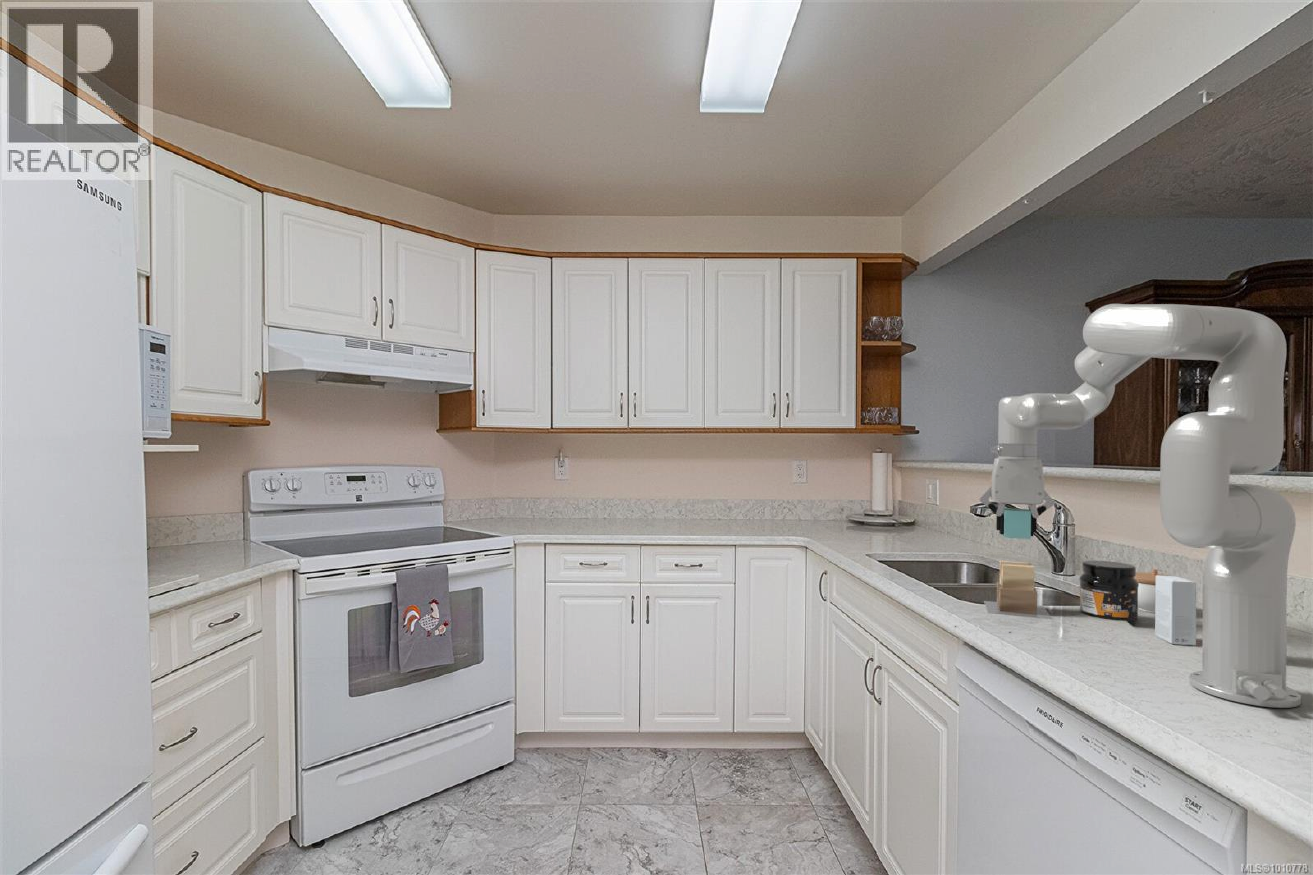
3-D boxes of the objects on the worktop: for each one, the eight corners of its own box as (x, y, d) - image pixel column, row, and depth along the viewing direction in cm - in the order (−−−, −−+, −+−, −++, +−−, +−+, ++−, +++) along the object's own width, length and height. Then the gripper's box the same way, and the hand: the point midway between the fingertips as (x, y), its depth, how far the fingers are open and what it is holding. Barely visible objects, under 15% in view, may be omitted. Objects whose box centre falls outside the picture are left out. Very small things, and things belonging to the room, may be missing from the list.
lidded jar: (1128, 602, 158) (1128, 563, 158) (1185, 610, 151) (1185, 569, 151) (1123, 610, 149) (1123, 569, 150) (1183, 619, 142) (1183, 576, 143)
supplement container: (1077, 620, 140) (1077, 564, 141) (1081, 611, 149) (1081, 558, 149) (1138, 629, 134) (1138, 570, 134) (1138, 618, 143) (1138, 563, 143)
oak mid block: (1034, 590, 141) (1034, 567, 141) (1002, 588, 143) (1002, 565, 143) (1029, 585, 146) (1029, 562, 146) (999, 582, 149) (999, 560, 149)
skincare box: (1197, 646, 123) (1197, 582, 123) (1171, 644, 124) (1171, 581, 124) (1178, 637, 129) (1178, 576, 129) (1153, 635, 130) (1154, 574, 130)
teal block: (1030, 539, 142) (1031, 511, 142) (1004, 537, 144) (1004, 510, 144) (1027, 536, 146) (1027, 509, 146) (1002, 534, 148) (1002, 508, 148)
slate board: (1052, 624, 137) (1052, 619, 137) (988, 618, 141) (988, 612, 141) (1042, 611, 148) (1042, 606, 148) (983, 605, 152) (983, 600, 152)
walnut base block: (1036, 614, 140) (1037, 591, 140) (1000, 611, 143) (1000, 588, 143) (1031, 607, 147) (1032, 585, 147) (996, 604, 149) (996, 582, 149)
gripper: (975, 451, 145) (974, 534, 145) (1065, 453, 138) (1064, 539, 138) (973, 451, 152) (972, 530, 152) (1058, 452, 145) (1057, 535, 145)
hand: (1016, 533), depth 145 cm, fingers closed on teal block, 5 cm apart
